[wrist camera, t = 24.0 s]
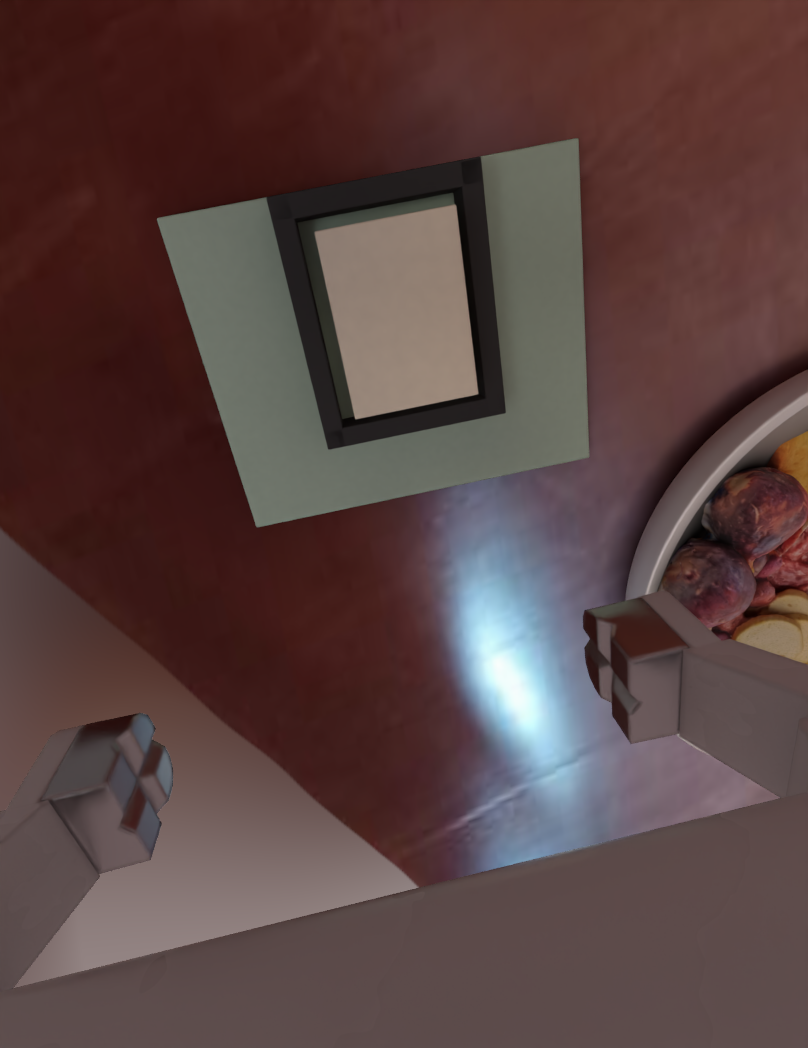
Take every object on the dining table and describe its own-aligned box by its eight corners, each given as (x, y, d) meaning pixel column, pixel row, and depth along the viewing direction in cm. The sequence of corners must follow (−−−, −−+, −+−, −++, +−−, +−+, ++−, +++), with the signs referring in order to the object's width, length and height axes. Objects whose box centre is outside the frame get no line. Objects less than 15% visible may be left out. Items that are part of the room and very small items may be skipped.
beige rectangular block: (352, 402, 30) (355, 419, 26) (316, 237, 26) (314, 231, 23) (461, 380, 30) (479, 394, 26) (439, 213, 26) (456, 204, 23)
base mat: (258, 521, 33) (252, 543, 30) (161, 220, 26) (142, 213, 23) (582, 452, 34) (605, 468, 31) (570, 141, 27) (597, 126, 24)
